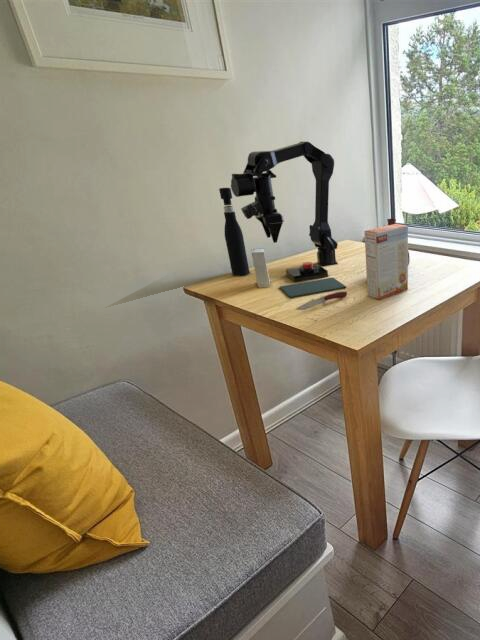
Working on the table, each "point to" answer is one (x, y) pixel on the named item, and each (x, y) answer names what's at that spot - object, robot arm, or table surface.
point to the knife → (323, 300)
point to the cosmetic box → (260, 267)
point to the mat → (312, 287)
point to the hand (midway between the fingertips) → (271, 239)
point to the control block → (306, 273)
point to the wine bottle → (234, 237)
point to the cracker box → (386, 260)
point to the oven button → (308, 265)
